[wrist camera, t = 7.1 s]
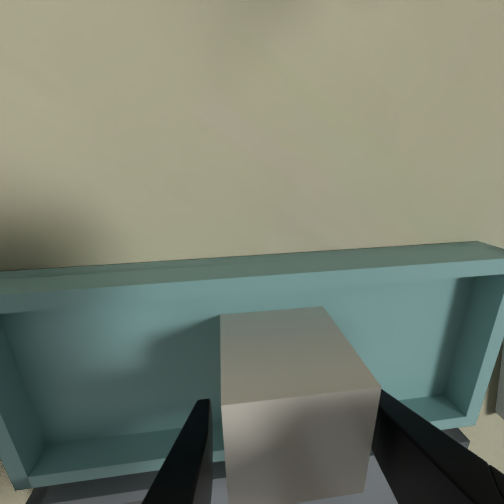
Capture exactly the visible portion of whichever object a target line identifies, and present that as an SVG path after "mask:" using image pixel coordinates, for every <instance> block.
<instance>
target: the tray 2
mask: <svg viewBox="0 0 504 504" xmlns="http://www.w3.org/2000/svg"><path fill="white" fill-rule="evenodd" d="M441 431H443V432H444V433H446V434H447V435H448V436H450V437H451V438H453V439H454V440H456V441H457V442H458V443H460V444H461V445H463V446H464V447H466V448H467V449H468V446H469V443H470V441H469V439H468V438H467V437H466V436H465V435H464V434H463V433H462V432H461V431H460V430H459V428H451V429H444V430H441ZM158 472H159V470H156V471H149V472H142V473H135V474H128V475H121V476H114V477H107V478H100V479H93V480H86V481H79V482H72V483H64V484H57V485H50V486H43V487H36V488H34V489H33V491H32V493H31V495H30V497H29V498H28V500H27V502H26V504H126V503H129V502H133V501H139V500H143V499H144V498H145V496H146V494H147V492H148V490H149V488H150V486H151V485H152V483H153V481H154V479H155V477H156V475H157V474H158ZM211 504H228V492H227V479H226V466H225V461H219V462H213V484H212V496H211ZM294 504H398V502H397V500H396V498H395V496H394V494H393V492H392V490H391V488H390V486H389V484H388V482H387V480H386V478H385V477H384V475H383V473H382V471H381V469H380V467H379V464H378V462H377V460H376V458H375V456H374V454H373V451H372V449H371V451H370V457H369V463H368V469H367V475H366V481H365V486H364V492H363V493H357V494H350V495H344V496H338V497H332V498H325V499H319V500H313V501H306V502H300V503H294Z"/></svg>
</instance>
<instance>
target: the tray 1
mask: <svg viewBox="0 0 504 504" xmlns="http://www.w3.org/2000/svg"><path fill="white" fill-rule="evenodd" d="M319 306H323V307H324V308H325V310H326V311H327V313H328V314H329V315H330V317H331V318H332V319H333V321H334V322H335V324H336V325H337V326H338V328H339V329H340V330H341V332H342V333H343V335H344V336H345V337H346V339H347V340H348V341H349V343H350V344H351V346H352V347H353V348H354V350H355V351H356V353H357V354H358V355H359V357H360V358H361V359H362V361H363V362H364V364H365V365H366V366H367V368H368V369H369V370H370V372H371V373H372V375H373V376H374V377H375V379H376V380H377V381H378V383H379V384H380V386H381V389H383V390H384V391H386V392H387V393H388V394H390V395H391V396H393V397H394V398H396V399H397V400H398V401H400V402H401V403H403V404H404V405H406V406H407V407H408V408H410V409H411V410H413V411H414V412H416V413H417V414H418V415H420V416H421V417H423V418H424V419H426V420H427V421H428V422H430V423H431V424H433V425H434V426H436V427H437V428H438V429H440V430H444V429H451V428H458V427H465V426H472V425H475V424H476V421H477V418H478V415H479V412H480V409H481V406H482V403H483V400H484V397H485V393H486V390H487V387H488V384H489V381H490V378H491V375H492V372H493V369H494V366H495V363H496V359H497V356H498V353H499V350H500V347H501V344H502V341H503V338H504V249H502V248H499V247H496V246H492V245H489V244H486V243H482V242H479V241H473V242H457V243H441V244H426V245H410V246H394V247H378V248H363V249H347V250H331V251H316V252H300V253H284V254H269V255H253V256H237V257H221V258H206V259H190V260H174V261H159V262H143V263H127V264H112V265H96V266H80V267H64V268H49V269H33V270H17V271H2V272H0V459H1V461H2V463H3V465H4V468H5V470H6V472H7V474H8V476H9V478H10V480H11V483H12V485H13V487H14V489H15V490H22V489H29V488H36V487H43V486H50V485H57V484H64V483H72V482H79V481H86V480H93V479H100V478H107V477H114V476H121V475H128V474H135V473H142V472H149V471H156V470H160V468H161V466H162V464H163V462H164V461H165V459H166V457H167V455H168V453H169V451H170V449H171V448H172V446H173V444H174V442H175V440H176V438H177V437H178V435H179V433H180V431H181V429H182V427H183V425H184V424H185V422H186V420H187V418H188V416H189V414H190V413H191V411H192V409H193V407H194V405H195V403H196V402H197V400H199V399H207V398H209V399H210V400H211V408H212V419H213V462H219V461H225V452H224V439H223V426H222V412H221V351H220V314H232V313H244V312H257V311H269V310H281V309H294V308H306V307H319Z"/></svg>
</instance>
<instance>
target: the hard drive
mask: <svg viewBox="0 0 504 504" xmlns="http://www.w3.org/2000/svg"><path fill="white" fill-rule="evenodd" d="M495 412H496V413H497V414H498V415H499V416H500V417H501V418H503V419H504V343H503V350H502V359H501V367H500V376H499V384H498V392H497V401H496V408H495Z"/></svg>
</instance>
